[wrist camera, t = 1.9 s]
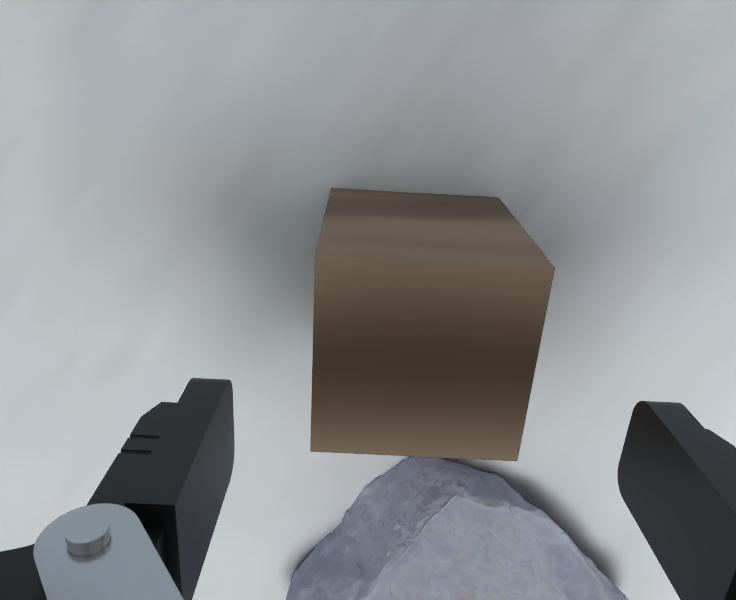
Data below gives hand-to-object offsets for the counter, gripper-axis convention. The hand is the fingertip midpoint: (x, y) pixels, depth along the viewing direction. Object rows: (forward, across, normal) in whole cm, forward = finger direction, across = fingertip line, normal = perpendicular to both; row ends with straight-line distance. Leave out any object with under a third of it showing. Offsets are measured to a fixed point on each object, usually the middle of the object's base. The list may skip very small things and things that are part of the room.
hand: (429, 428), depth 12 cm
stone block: (+8, -3, +12) cm, 15 cm away
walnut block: (+8, 0, 0) cm, 8 cm away
